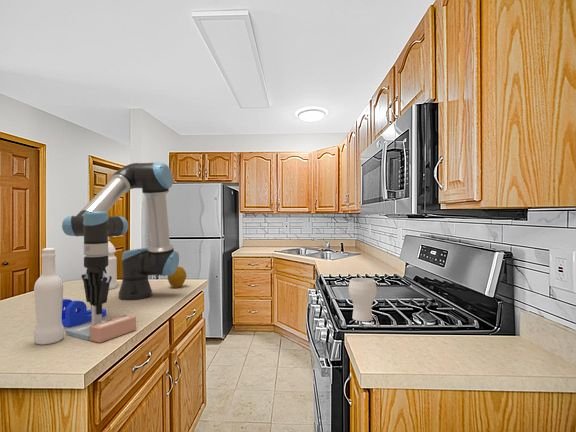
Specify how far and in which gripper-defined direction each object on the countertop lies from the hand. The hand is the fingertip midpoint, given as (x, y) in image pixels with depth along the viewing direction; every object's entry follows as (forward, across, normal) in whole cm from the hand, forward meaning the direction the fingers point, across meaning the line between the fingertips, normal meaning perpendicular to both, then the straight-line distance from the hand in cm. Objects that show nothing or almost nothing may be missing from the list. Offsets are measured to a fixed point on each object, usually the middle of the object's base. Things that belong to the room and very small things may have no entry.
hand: (96, 323), depth 125 cm
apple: (+3, -27, +67) cm, 72 cm away
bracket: (+3, -17, +7) cm, 19 cm away
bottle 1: (+3, -6, -13) cm, 14 cm away
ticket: (+3, 0, 0) cm, 3 cm away
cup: (+3, +79, +56) cm, 97 cm away
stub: (+3, +9, 0) cm, 9 cm away
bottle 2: (+3, -61, +47) cm, 77 cm away
